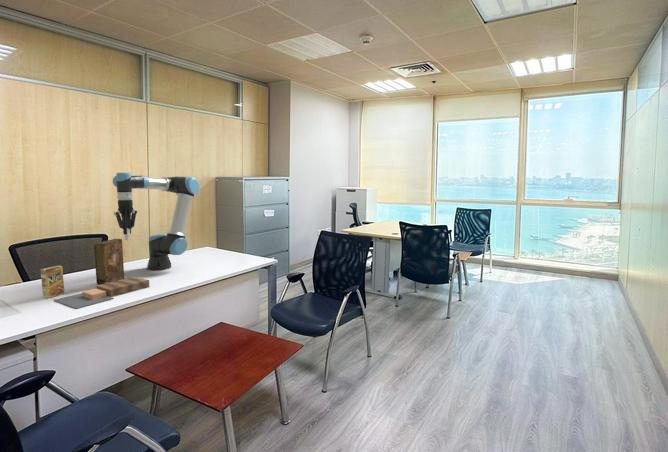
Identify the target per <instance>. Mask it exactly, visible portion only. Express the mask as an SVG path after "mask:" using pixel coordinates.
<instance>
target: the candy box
mask: <svg viewBox="0 0 668 452" xmlns="http://www.w3.org/2000/svg"><path fill="white" fill-rule="evenodd" d="M63 271H64V270H63V266H62V265H54V266H50V267H44V268H40V278H41V279H40V281H41V288H42V289H41V291H42V297H43V299H44V298H46V299H49V298H53V297H58V296H62V295H65V293H66V292H65V284H64V283H65V282H64V273H63Z"/></svg>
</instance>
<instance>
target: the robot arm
mask: <svg viewBox="0 0 668 452" xmlns="http://www.w3.org/2000/svg"><path fill="white" fill-rule="evenodd" d="M112 184H113V186H114V187H116V194H117V195H116V196H117V207H118V209H117V210H116V211H115V212H113V214H114V216H115V217H116V220H117V224H118V226H119V229H123V230H122V231H123V235H124V240H125V241H130V240H131V234H132V229H133V228H134V227H135V223H136V217H137V213H138V210H135V209H134V207H133V205H134V203H133V189H135V190H136V189H141V190H145V189H146V190H159V191H162V192H169V193H174V194H175V196H176V197H177V198H176V204H175V208H174V213H173V216H172V222H171V225H170V229H169V231H168V232H166V233H160V234H153V235H152V234H151V235H149V236H148V252H149V258H148V262H147V264H146V267H147V268H146V269H147V270H149V271H161V270H168V269H171V268H172V262H171V260H170V257H169V255H173V256H180V255H183V253H185V252H186V250H187V248H188V242H187V241H188V240H187V239H186V235H185V234H184V233H185V229H186V225H187V220H188V215H189V209H190V205H191V200H193V199H194V198H195V195H197V194H198V193H199V192H200V188H201V187H200V183H199V181H198V180H197V179H196V177H194V176H193V177H192V176H168V177H165V176H163V177H161V178H159V177H148V176H147V175H132V174H131V173H130V172H117V173H116V174H115V176H113V178H112Z"/></svg>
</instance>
